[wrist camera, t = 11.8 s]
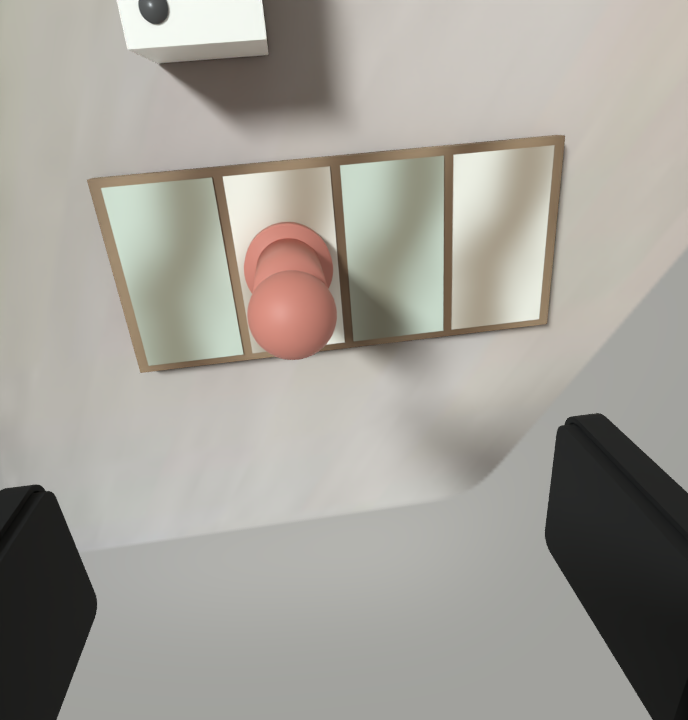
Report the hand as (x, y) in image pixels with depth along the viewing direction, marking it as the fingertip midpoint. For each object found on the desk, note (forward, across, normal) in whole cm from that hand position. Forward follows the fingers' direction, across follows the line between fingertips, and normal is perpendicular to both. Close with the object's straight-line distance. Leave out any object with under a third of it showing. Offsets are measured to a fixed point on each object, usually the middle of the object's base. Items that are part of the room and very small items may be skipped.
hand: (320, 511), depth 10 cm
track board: (+20, -2, 0) cm, 20 cm away
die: (+20, +3, -12) cm, 23 cm away
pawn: (+19, 0, 0) cm, 19 cm away
